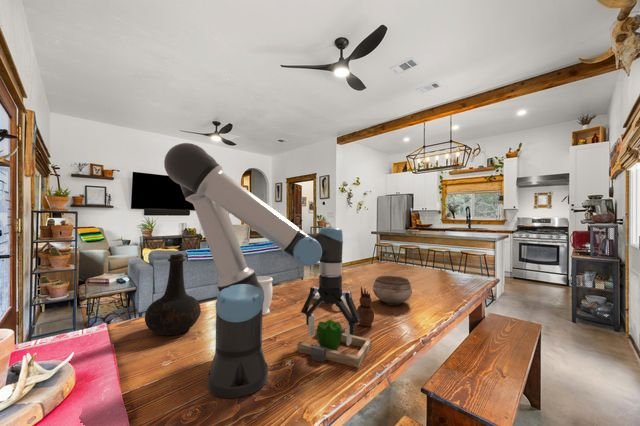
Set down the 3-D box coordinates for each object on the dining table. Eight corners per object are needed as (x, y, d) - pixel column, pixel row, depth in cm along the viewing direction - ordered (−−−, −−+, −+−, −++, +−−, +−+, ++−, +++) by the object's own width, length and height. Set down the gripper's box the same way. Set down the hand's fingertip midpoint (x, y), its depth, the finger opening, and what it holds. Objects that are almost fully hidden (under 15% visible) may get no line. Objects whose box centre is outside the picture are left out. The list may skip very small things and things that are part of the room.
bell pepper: (317, 341, 94) (317, 312, 94) (341, 342, 94) (341, 313, 94) (315, 353, 86) (316, 321, 86) (342, 354, 85) (342, 322, 85)
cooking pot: (395, 294, 152) (396, 272, 152) (424, 304, 135) (424, 279, 136) (360, 301, 139) (360, 277, 139) (387, 313, 123) (387, 285, 123)
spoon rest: (308, 299, 142) (308, 285, 142) (327, 296, 148) (327, 282, 148) (333, 313, 122) (334, 297, 122) (354, 309, 128) (355, 294, 128)
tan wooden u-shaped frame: (356, 371, 76) (356, 358, 76) (294, 354, 85) (294, 342, 85) (373, 344, 93) (373, 334, 93) (319, 332, 101) (319, 322, 101)
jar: (266, 317, 115) (267, 282, 115) (243, 315, 117) (244, 280, 117) (275, 309, 125) (276, 276, 125) (254, 307, 127) (255, 275, 127)
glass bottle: (132, 336, 95) (134, 256, 96) (175, 318, 112) (177, 250, 112) (171, 345, 89) (172, 259, 90) (210, 325, 106) (212, 252, 106)
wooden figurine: (354, 324, 109) (354, 286, 110) (362, 320, 114) (362, 284, 114) (368, 329, 105) (369, 290, 105) (376, 325, 109) (377, 287, 109)
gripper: (370, 276, 88) (369, 342, 88) (303, 268, 99) (302, 327, 99) (364, 281, 81) (362, 353, 81) (292, 272, 92) (290, 335, 92)
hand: (329, 339), depth 90 cm, fingers open, 13 cm apart
